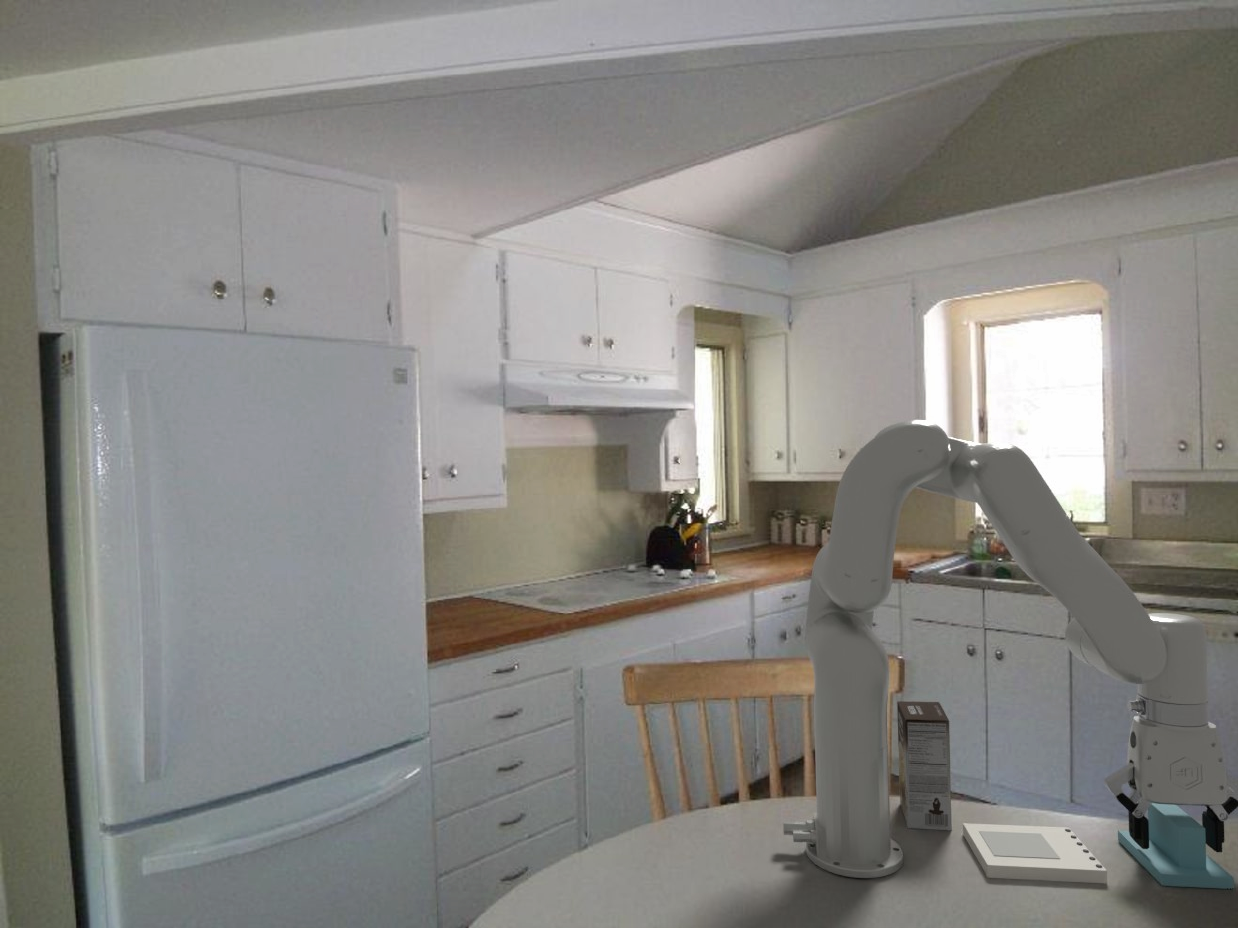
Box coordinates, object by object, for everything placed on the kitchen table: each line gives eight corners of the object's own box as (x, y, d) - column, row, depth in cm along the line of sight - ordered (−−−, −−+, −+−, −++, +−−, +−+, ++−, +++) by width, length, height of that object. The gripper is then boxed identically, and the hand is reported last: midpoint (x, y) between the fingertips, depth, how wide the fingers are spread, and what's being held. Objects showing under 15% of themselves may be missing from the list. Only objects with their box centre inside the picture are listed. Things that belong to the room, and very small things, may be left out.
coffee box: (898, 802, 126) (895, 699, 126) (942, 805, 125) (939, 700, 125) (907, 829, 117) (904, 717, 117) (954, 831, 116) (951, 719, 116)
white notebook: (988, 877, 103) (987, 863, 103) (963, 834, 115) (962, 822, 115) (1107, 883, 101) (1106, 869, 101) (1069, 838, 112) (1068, 826, 112)
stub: (1162, 885, 100) (1160, 833, 100) (1118, 840, 111) (1116, 793, 112) (1234, 888, 98) (1232, 836, 98) (1181, 842, 110) (1180, 796, 110)
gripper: (1112, 718, 103) (1116, 856, 103) (1265, 721, 100) (1269, 863, 100) (1088, 700, 110) (1091, 829, 110) (1229, 703, 107) (1233, 835, 107)
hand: (1176, 845), depth 105 cm, fingers open, 8 cm apart
